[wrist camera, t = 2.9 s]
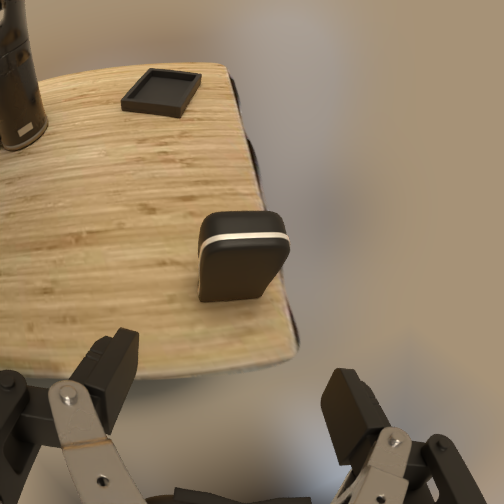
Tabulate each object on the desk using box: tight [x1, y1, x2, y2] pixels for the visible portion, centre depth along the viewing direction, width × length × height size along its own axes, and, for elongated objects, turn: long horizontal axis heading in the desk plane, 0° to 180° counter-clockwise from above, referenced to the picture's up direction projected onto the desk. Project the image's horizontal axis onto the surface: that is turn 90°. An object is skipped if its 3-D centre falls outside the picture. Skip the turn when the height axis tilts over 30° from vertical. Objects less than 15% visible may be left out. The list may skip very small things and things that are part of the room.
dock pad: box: [121, 68, 202, 118], centre depth 44 cm, size 11×13×2 cm
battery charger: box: [198, 211, 290, 302], centre depth 26 cm, size 7×4×11 cm, turn 100°
